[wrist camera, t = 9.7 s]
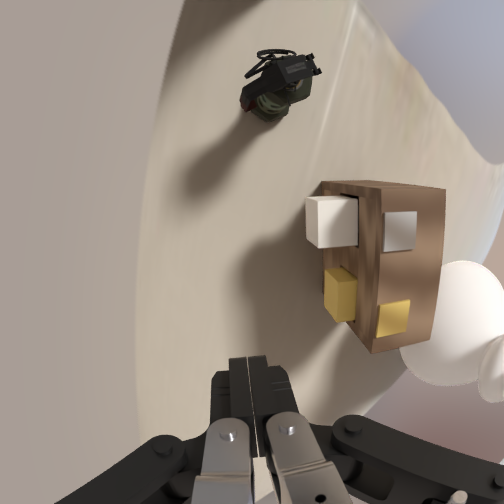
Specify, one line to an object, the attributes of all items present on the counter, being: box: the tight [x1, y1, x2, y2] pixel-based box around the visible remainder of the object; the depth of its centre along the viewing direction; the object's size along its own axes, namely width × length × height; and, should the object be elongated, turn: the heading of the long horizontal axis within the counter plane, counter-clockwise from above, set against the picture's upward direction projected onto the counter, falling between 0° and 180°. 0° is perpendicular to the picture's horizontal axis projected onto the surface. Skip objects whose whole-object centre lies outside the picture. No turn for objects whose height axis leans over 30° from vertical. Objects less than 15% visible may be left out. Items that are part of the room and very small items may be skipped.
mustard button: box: [324, 267, 358, 323], centre depth 33 cm, size 4×6×4 cm
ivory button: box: [305, 196, 359, 248], centre depth 31 cm, size 4×6×4 cm
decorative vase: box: [399, 261, 504, 403], centre depth 33 cm, size 18×18×25 cm
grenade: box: [240, 49, 322, 123], centre depth 28 cm, size 6×6×15 cm
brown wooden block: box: [321, 180, 446, 354], centre depth 33 cm, size 15×7×16 cm, turn 3°
